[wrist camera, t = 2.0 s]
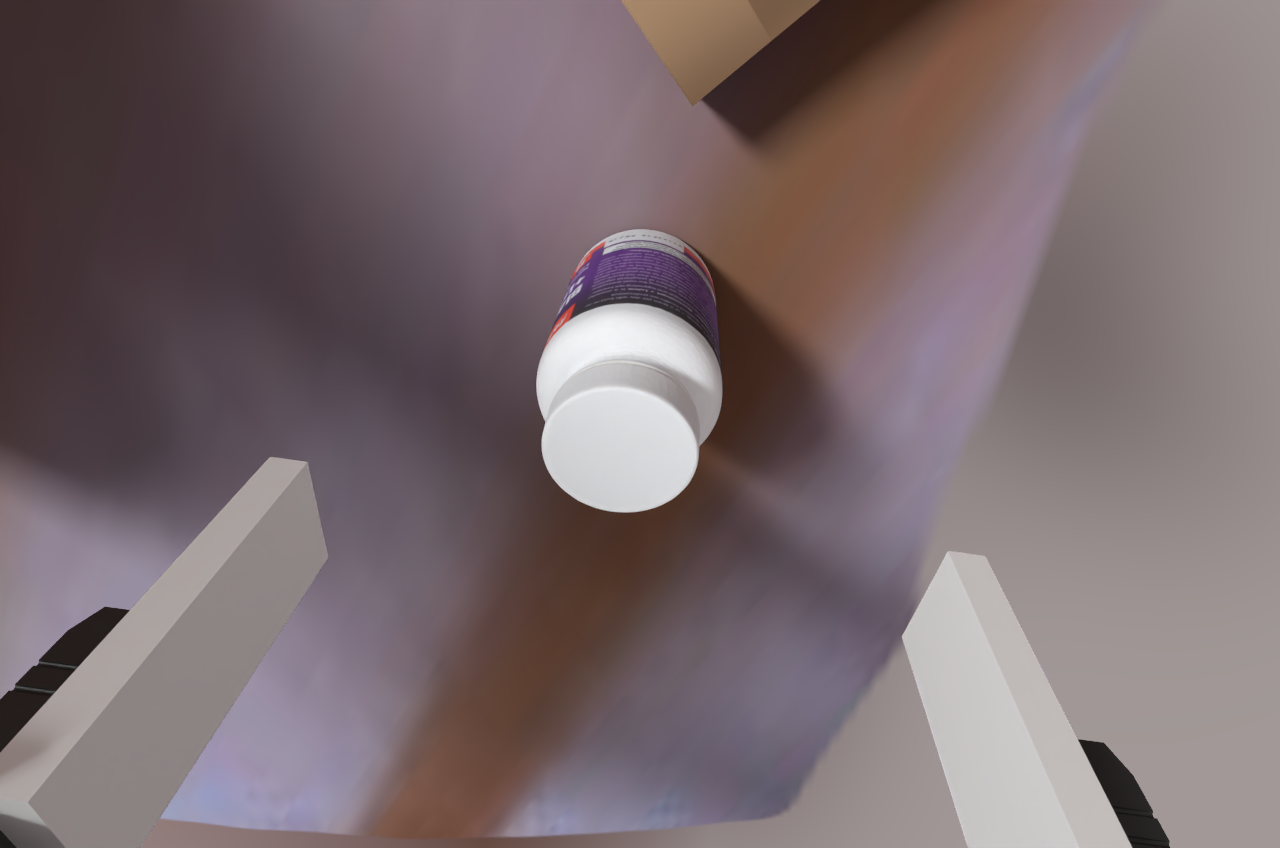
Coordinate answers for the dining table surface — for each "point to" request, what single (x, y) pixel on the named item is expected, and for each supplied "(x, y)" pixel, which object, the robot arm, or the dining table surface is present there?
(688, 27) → the brown square frame
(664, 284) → the pill bottle
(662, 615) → the dining table surface
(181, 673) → the robot arm
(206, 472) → the dining table surface
